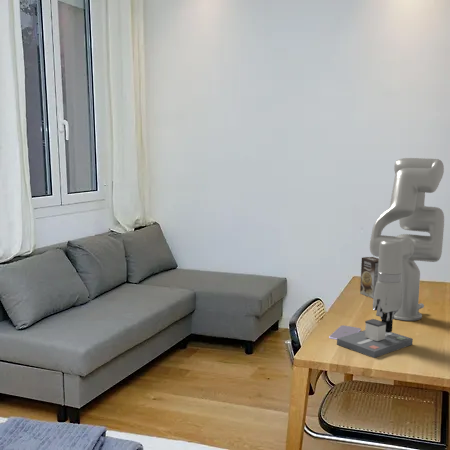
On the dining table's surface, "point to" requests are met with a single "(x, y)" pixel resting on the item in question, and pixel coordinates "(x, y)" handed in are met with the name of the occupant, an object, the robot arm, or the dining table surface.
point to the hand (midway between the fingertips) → (386, 331)
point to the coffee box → (369, 276)
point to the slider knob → (375, 329)
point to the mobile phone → (344, 332)
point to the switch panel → (374, 343)
